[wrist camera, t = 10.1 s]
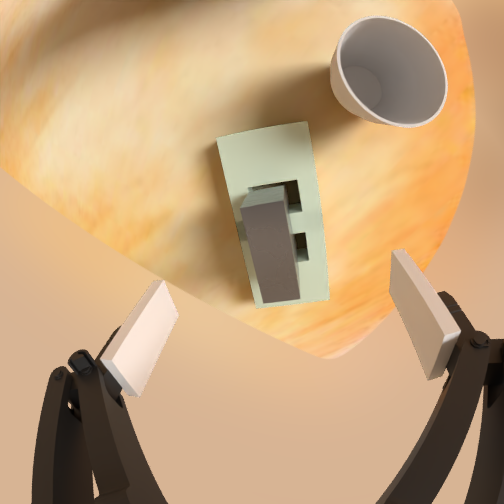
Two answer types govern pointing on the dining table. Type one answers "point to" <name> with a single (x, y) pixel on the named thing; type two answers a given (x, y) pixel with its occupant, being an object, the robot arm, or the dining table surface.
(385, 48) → the cup
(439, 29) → the dining table surface
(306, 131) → the block with rectangular hole
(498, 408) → the robot arm
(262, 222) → the grey foam block
